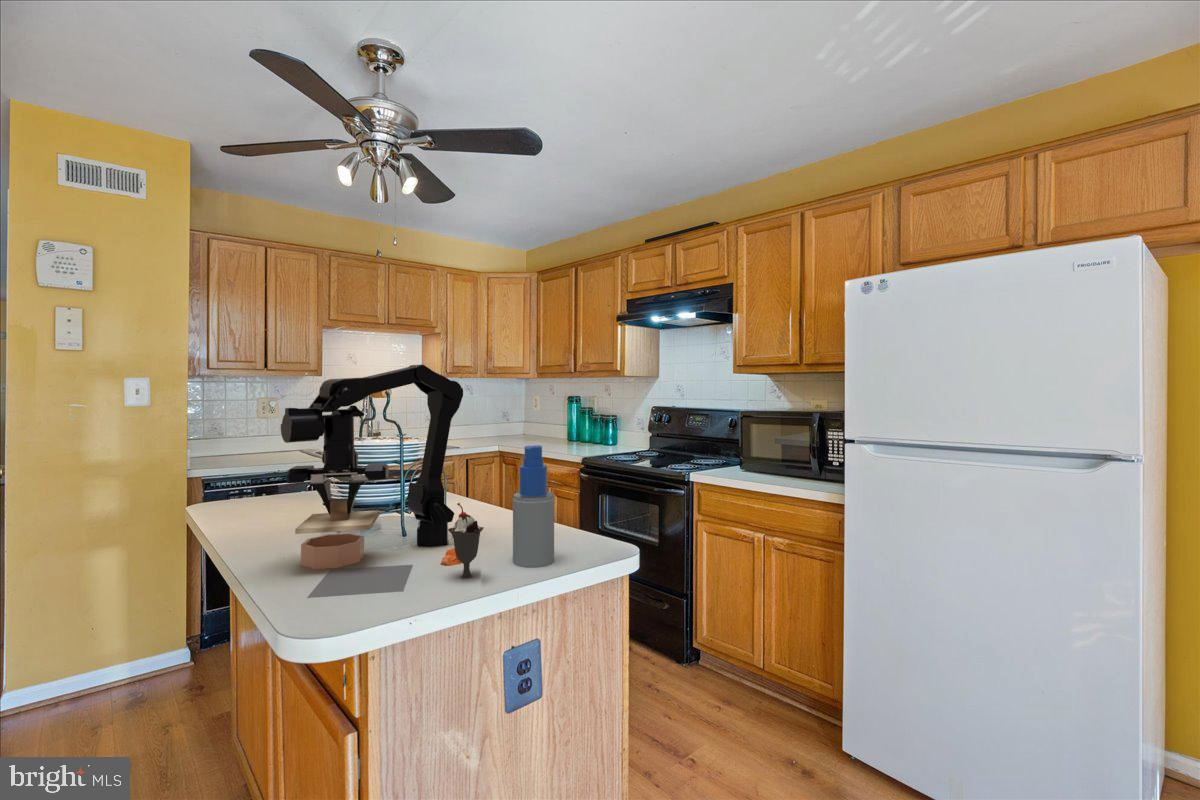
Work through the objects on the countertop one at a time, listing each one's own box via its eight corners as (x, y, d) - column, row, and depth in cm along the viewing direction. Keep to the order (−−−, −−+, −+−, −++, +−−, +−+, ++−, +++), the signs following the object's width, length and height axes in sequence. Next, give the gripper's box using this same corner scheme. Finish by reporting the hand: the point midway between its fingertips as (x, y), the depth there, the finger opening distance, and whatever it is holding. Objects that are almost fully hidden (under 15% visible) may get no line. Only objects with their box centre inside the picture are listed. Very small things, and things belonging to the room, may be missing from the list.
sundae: (451, 575, 115) (451, 500, 115) (485, 574, 115) (485, 500, 115) (445, 586, 108) (445, 507, 108) (481, 585, 109) (481, 506, 109)
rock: (416, 576, 116) (415, 555, 116) (436, 558, 129) (435, 539, 129) (474, 577, 116) (474, 556, 116) (488, 559, 128) (488, 540, 128)
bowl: (367, 554, 130) (367, 532, 130) (356, 570, 118) (356, 545, 118) (311, 557, 127) (311, 534, 127) (295, 573, 116) (295, 549, 116)
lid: (379, 514, 128) (379, 492, 128) (370, 529, 114) (369, 504, 114) (312, 518, 125) (312, 495, 124) (295, 534, 111) (294, 508, 111)
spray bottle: (535, 552, 131) (535, 443, 130) (562, 560, 125) (562, 445, 124) (504, 561, 124) (504, 446, 124) (531, 570, 118) (530, 449, 118)
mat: (413, 568, 119) (413, 564, 119) (403, 595, 104) (403, 591, 104) (330, 573, 116) (330, 569, 116) (307, 602, 100) (307, 597, 100)
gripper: (391, 435, 129) (392, 504, 130) (300, 437, 125) (301, 508, 125) (384, 439, 118) (385, 514, 119) (285, 441, 114) (286, 520, 114)
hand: (340, 514), depth 120 cm, fingers closed on lid, 3 cm apart
